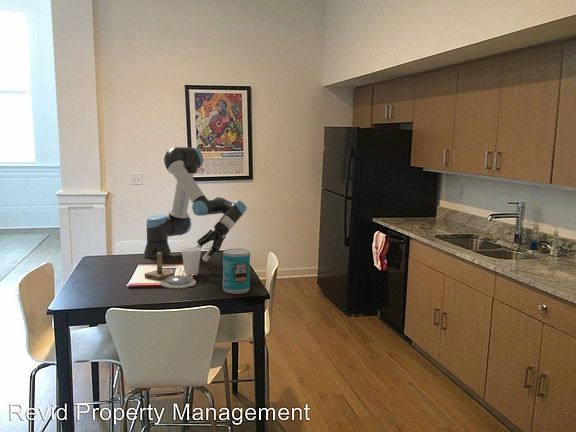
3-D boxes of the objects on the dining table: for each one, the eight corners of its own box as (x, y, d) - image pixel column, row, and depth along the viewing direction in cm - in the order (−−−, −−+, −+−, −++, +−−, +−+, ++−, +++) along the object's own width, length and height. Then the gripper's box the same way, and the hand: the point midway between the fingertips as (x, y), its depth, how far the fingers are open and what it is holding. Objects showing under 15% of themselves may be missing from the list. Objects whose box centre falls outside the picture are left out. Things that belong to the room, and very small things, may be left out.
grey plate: (154, 283, 222) (153, 278, 222) (181, 277, 235) (181, 272, 234) (175, 291, 212) (175, 285, 212) (203, 283, 225) (203, 278, 224)
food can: (243, 295, 209) (243, 255, 206) (218, 292, 213) (218, 252, 210) (253, 288, 220) (254, 249, 218) (229, 285, 224) (230, 247, 221)
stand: (144, 277, 232) (144, 253, 230) (159, 273, 241) (159, 249, 239) (160, 280, 227) (159, 256, 226) (174, 276, 236) (174, 252, 234)
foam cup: (198, 277, 236) (198, 251, 234) (179, 276, 236) (179, 250, 234) (202, 272, 245) (202, 247, 243) (184, 271, 245) (184, 246, 243)
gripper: (240, 234, 239) (214, 267, 232) (217, 226, 259) (191, 257, 252) (231, 224, 235) (204, 258, 228) (208, 217, 255) (182, 248, 248)
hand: (197, 257), depth 240 cm, fingers open, 13 cm apart
